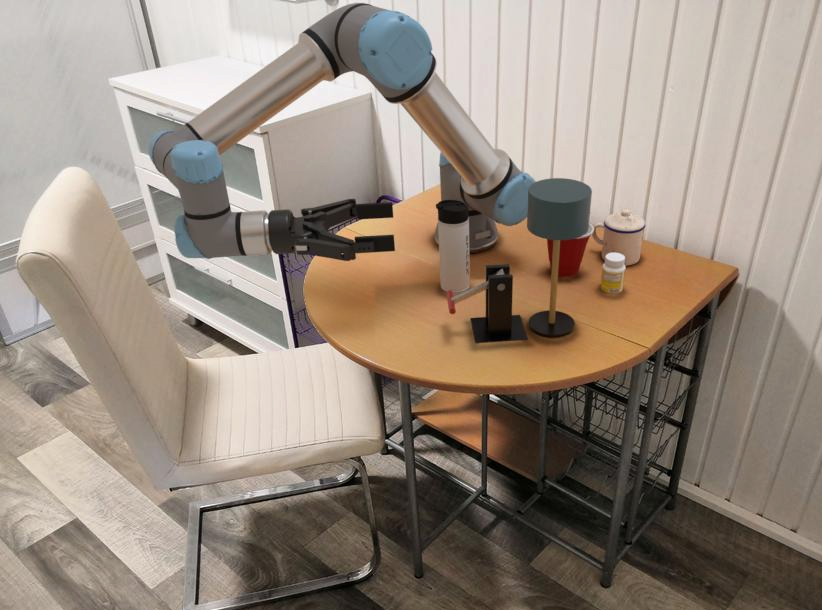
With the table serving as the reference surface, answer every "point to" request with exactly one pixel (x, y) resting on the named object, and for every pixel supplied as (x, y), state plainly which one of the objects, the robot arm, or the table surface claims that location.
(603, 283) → the supplement bottle
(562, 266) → the plastic cup
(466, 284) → the travel mug
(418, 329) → the table surface
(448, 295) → the switch lever
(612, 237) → the lidded enamel mug
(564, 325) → the desk lamp
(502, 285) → the switch base
